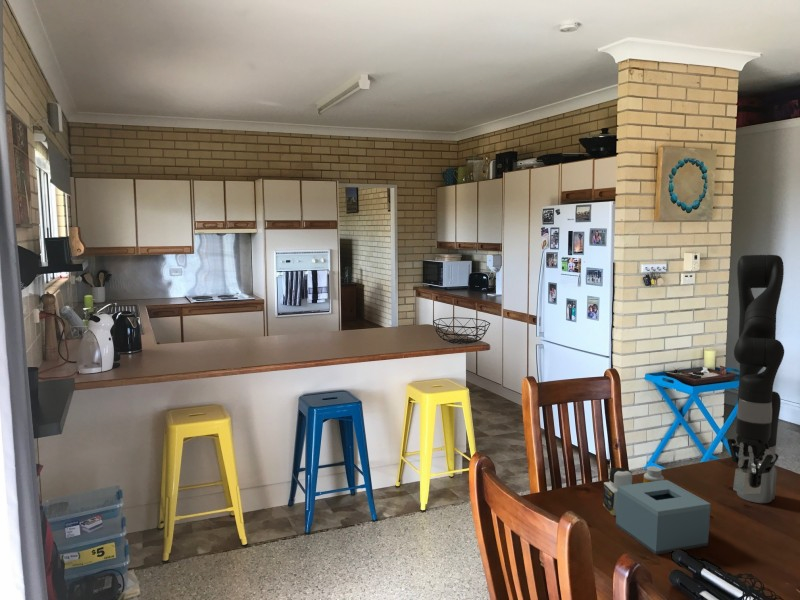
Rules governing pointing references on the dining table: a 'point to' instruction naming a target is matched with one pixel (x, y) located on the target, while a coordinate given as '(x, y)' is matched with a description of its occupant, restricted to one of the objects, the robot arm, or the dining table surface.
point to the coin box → (663, 516)
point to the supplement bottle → (653, 474)
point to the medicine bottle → (615, 487)
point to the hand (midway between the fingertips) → (749, 484)
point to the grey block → (744, 481)
